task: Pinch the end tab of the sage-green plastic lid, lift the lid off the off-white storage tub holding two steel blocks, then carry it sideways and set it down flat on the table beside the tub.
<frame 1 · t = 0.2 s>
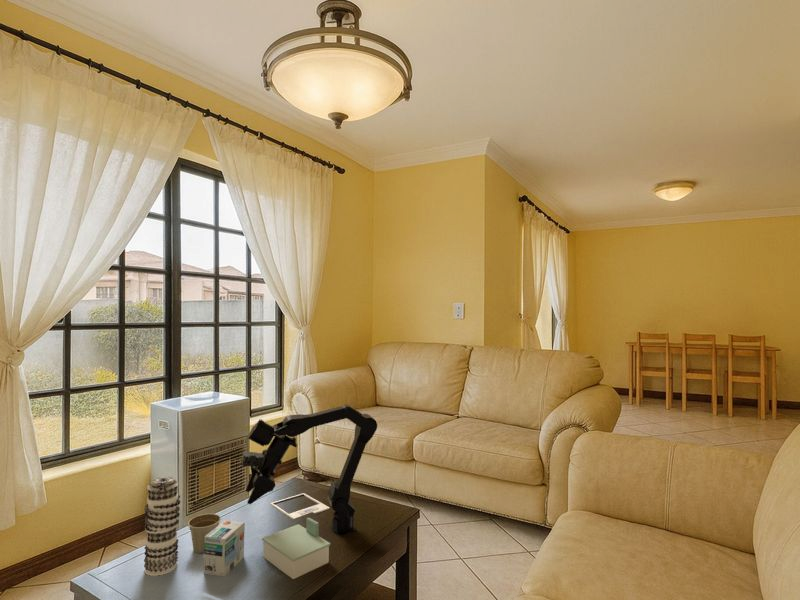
hand: (247, 497, 146), 15 cm above the table, tool tilted 30°, fingers open, 9 cm apart
lid: (295, 545, 136), point 5 cm above the table, touching tub
flower pot: (204, 549, 143), on the table
white patterned cylinder: (161, 568, 132), on the table
steel block A: (295, 553, 140), point 1 cm above the table, touching tub
tub: (295, 561, 136), on the table
photo frame: (299, 508, 173), on the table
light bulb box: (224, 567, 133), on the table
steel block B: (295, 566, 133), point 1 cm above the table, touching tub
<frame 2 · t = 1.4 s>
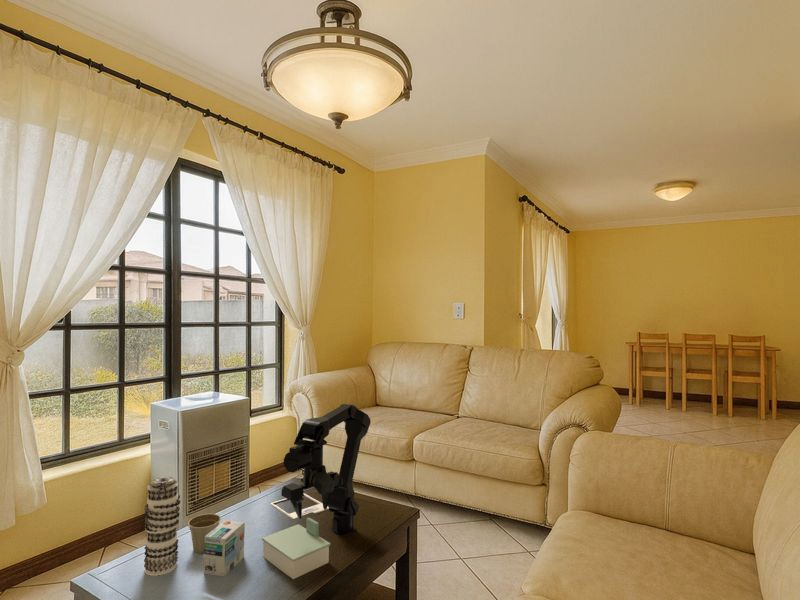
hand: (312, 513, 140), 12 cm above the table, tool pointing down, fingers open, 9 cm apart
nothing on the table moved.
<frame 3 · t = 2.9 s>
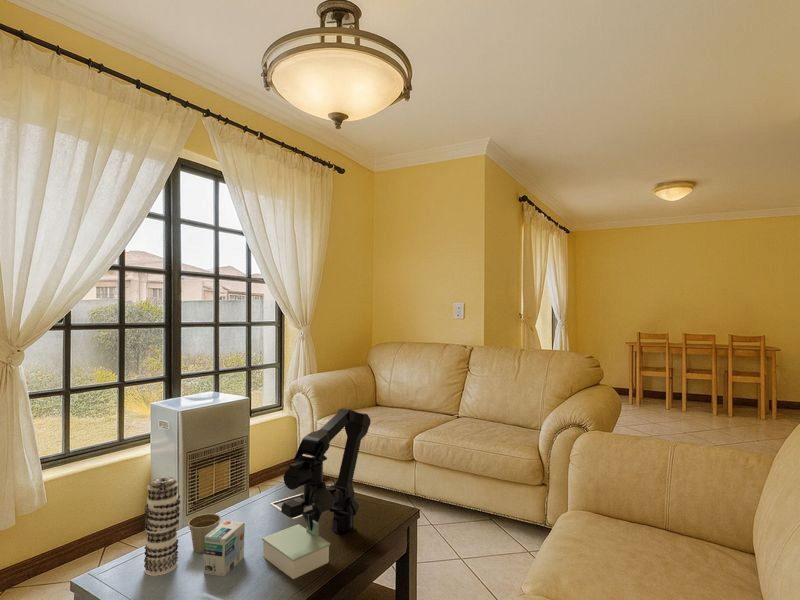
hand: (312, 529, 140), 7 cm above the table, tool pointing down, fingers closed on lid
lid: (295, 545, 136), point 5 cm above the table, touching gripper, tub
everything else where it was.
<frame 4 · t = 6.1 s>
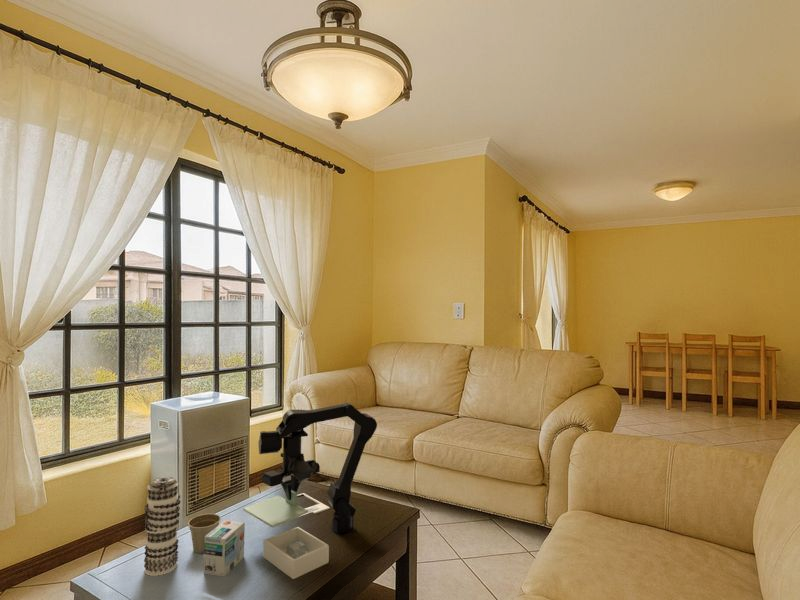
hand: (291, 499, 148), 13 cm above the table, tool pointing down, fingers closed on lid
lid: (275, 513, 144), point 10 cm above the table, touching gripper
everything else where it was.
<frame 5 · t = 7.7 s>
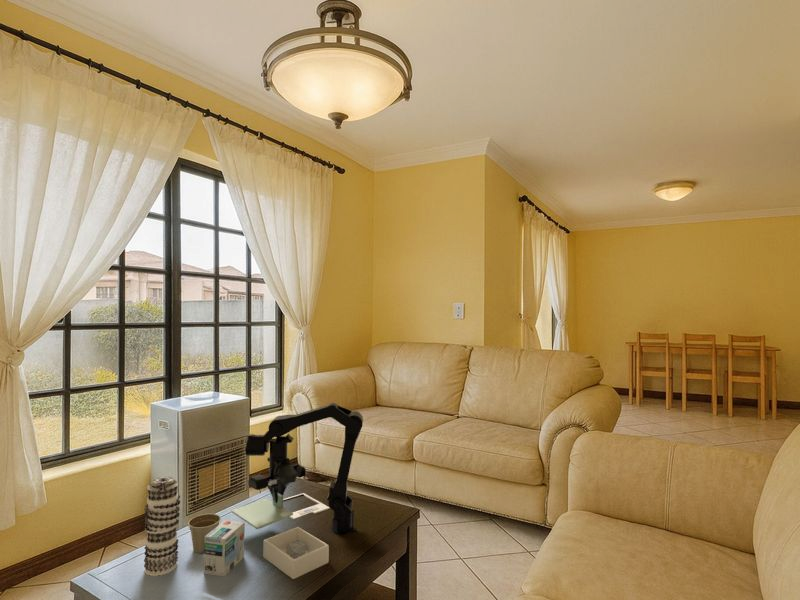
hand: (277, 502, 154), 10 cm above the table, tool pointing down, fingers closed on lid
lid: (262, 516, 150), point 7 cm above the table, touching gripper
everything else where it was.
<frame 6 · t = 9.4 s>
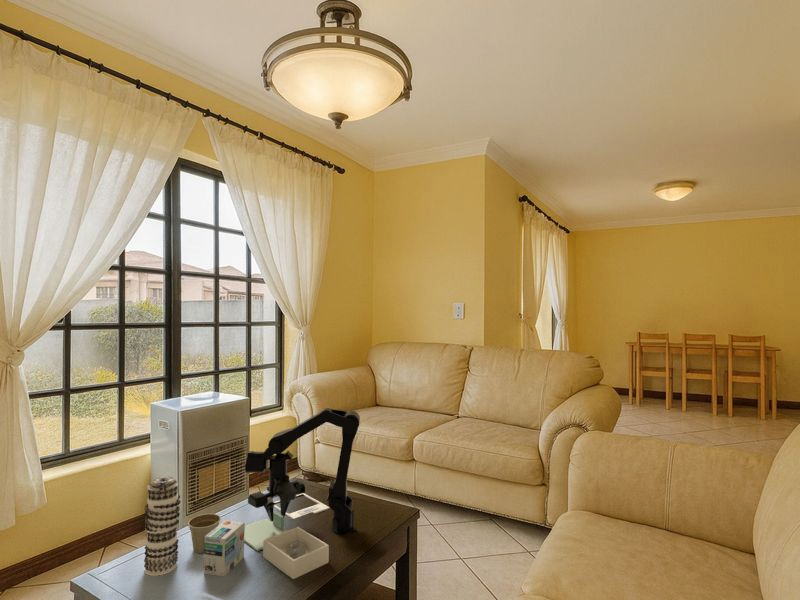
hand: (277, 519, 154), 4 cm above the table, tool pointing down, fingers open, 4 cm apart
lid: (262, 536, 150), on the table
everything else where it was.
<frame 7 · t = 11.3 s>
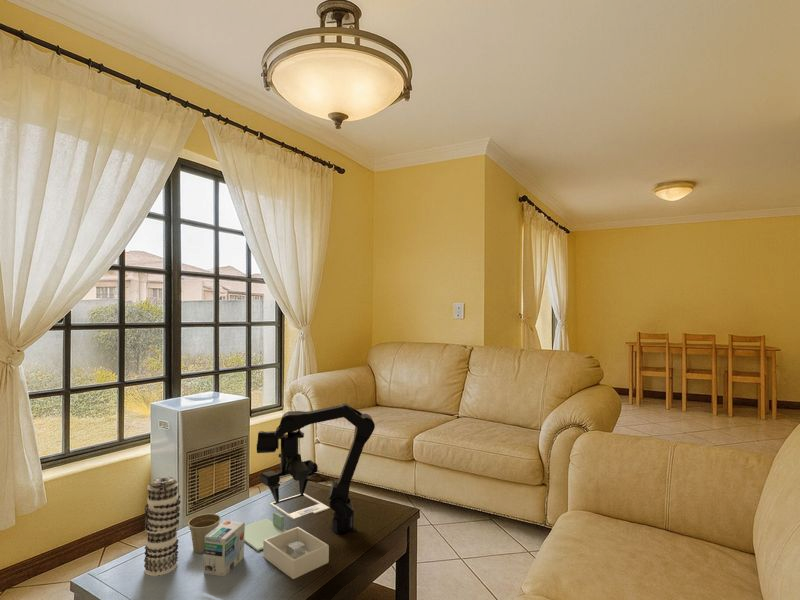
hand: (289, 498, 152), 12 cm above the table, tool pointing down, fingers open, 9 cm apart
nothing on the table moved.
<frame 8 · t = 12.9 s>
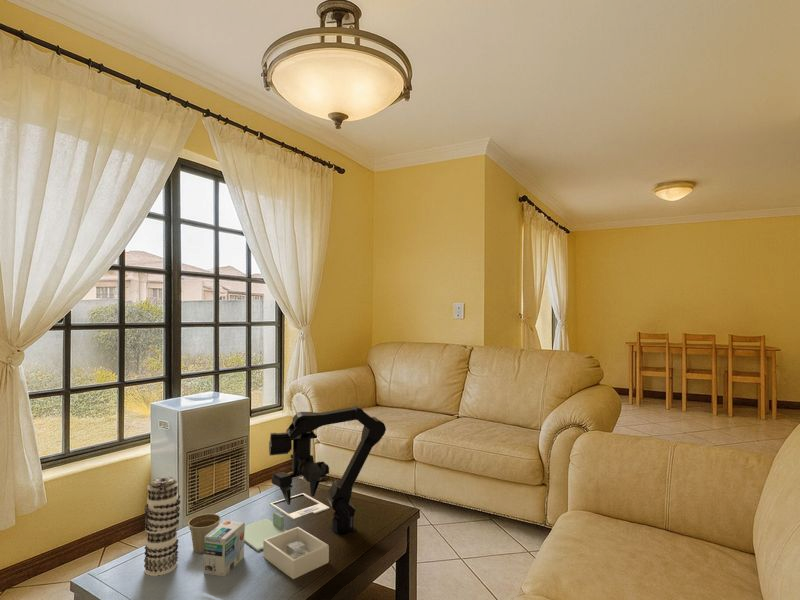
hand: (300, 500, 150), 12 cm above the table, tool pointing down, fingers open, 9 cm apart
nothing on the table moved.
at the end: lid inside the target area (0.5 cm from its centre), on the table; lid tilted 0°; the gripper is holding nothing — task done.
